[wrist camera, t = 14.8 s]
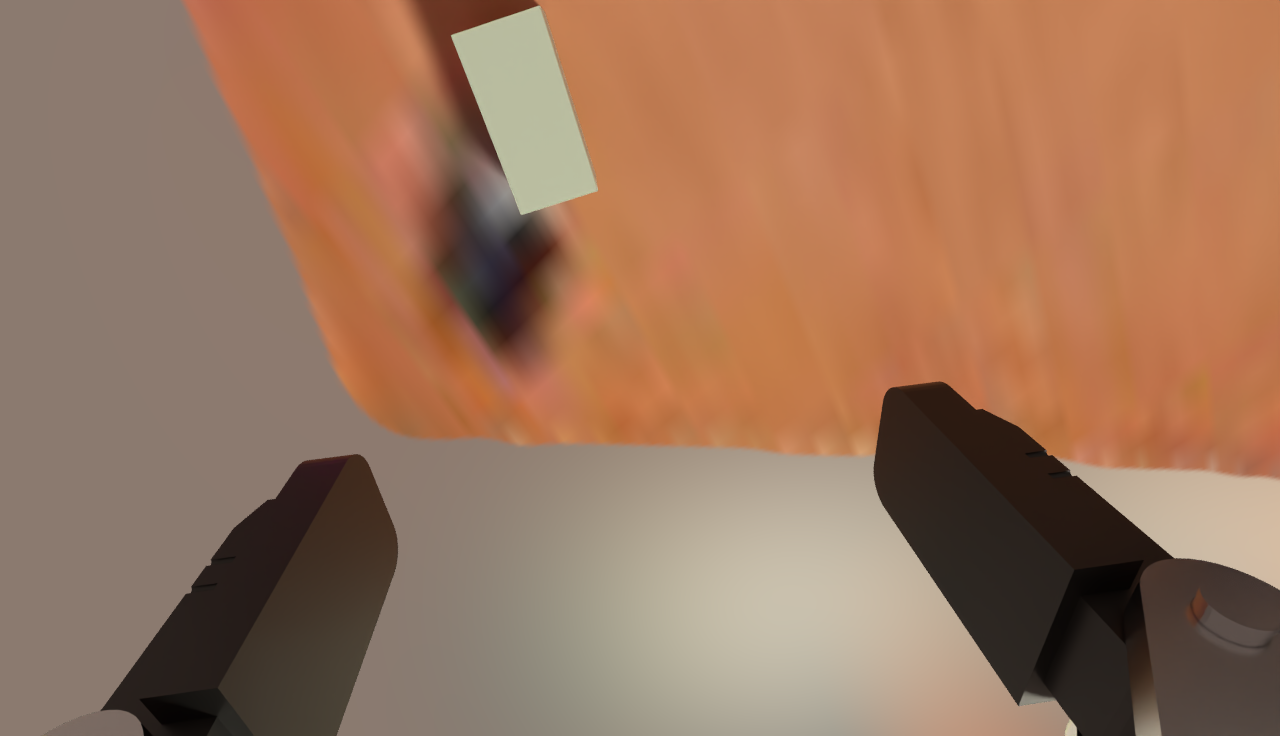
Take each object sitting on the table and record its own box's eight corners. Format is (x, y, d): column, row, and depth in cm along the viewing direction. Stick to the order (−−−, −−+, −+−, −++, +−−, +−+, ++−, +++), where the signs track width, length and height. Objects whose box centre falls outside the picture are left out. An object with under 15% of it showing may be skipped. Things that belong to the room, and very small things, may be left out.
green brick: (598, 190, 31) (595, 174, 36) (539, 5, 27) (545, 12, 31) (521, 215, 32) (528, 195, 36) (450, 35, 27) (468, 37, 32)
